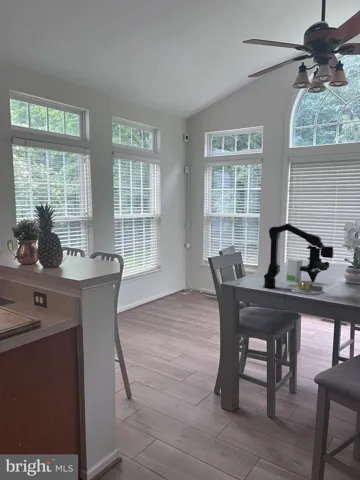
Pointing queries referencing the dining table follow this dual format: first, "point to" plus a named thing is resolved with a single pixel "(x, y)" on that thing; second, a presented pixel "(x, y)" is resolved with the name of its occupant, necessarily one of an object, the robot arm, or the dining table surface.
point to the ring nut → (308, 286)
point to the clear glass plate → (302, 291)
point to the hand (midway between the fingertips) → (312, 281)
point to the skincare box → (293, 270)
